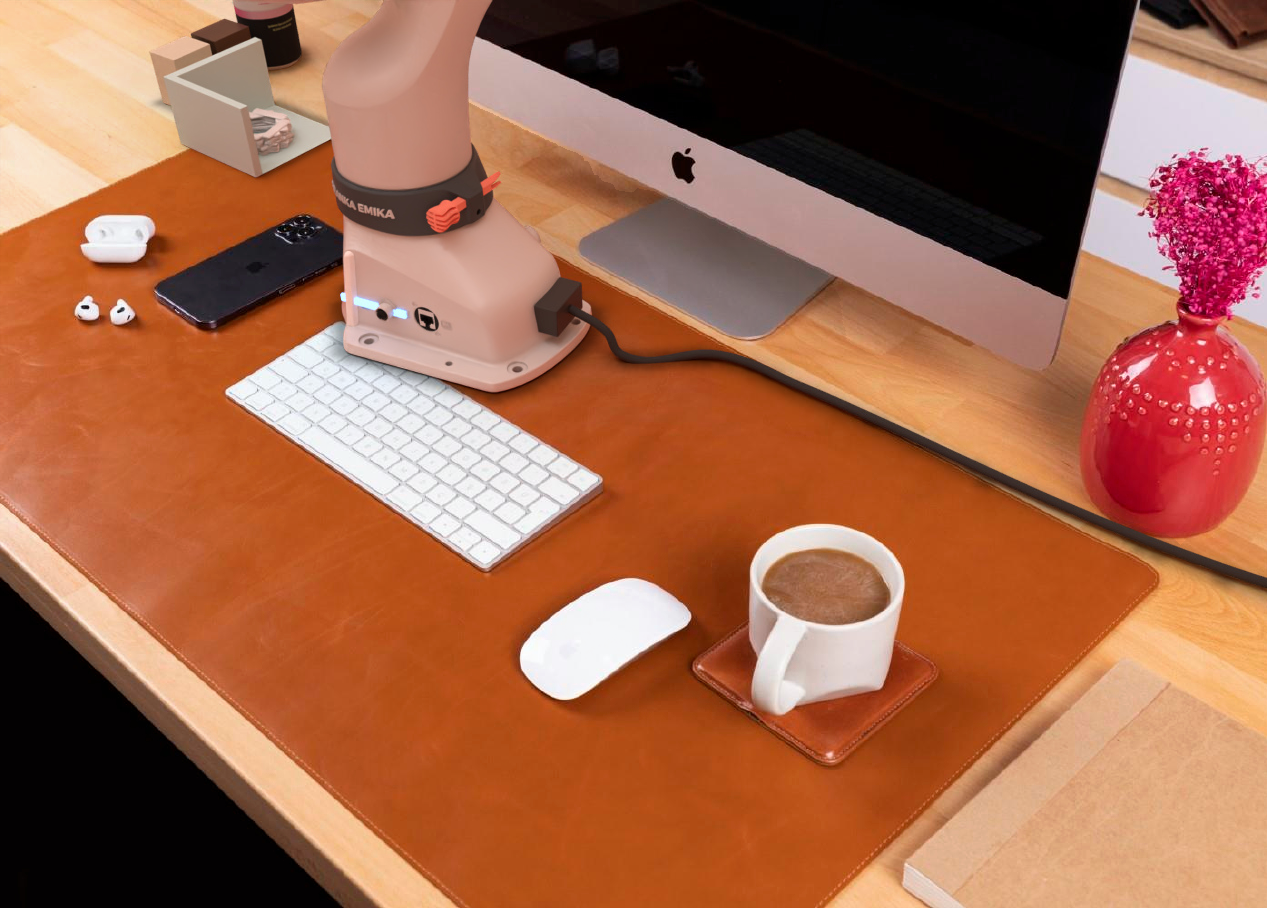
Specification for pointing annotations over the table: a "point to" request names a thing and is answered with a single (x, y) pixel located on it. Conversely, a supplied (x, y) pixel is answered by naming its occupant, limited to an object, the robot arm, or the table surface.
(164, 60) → the light tan block
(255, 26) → the beverage can
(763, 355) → the table surface
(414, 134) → the robot arm
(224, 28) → the walnut block
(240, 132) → the l-shaped corner panel
